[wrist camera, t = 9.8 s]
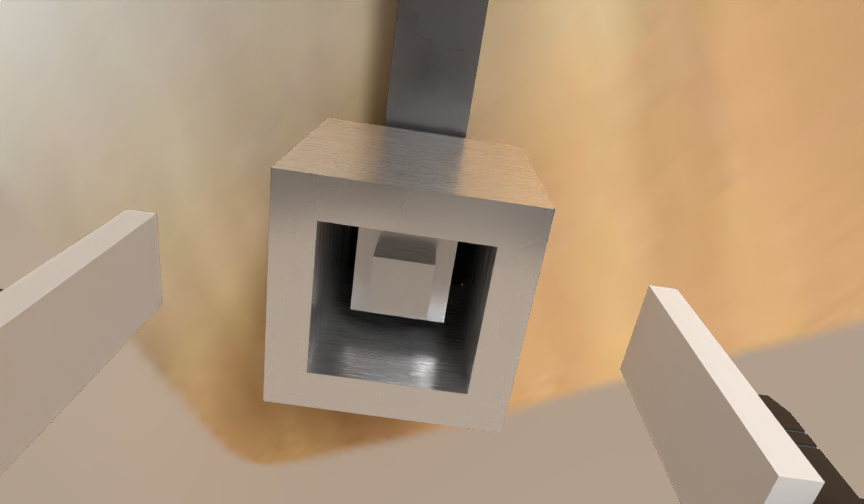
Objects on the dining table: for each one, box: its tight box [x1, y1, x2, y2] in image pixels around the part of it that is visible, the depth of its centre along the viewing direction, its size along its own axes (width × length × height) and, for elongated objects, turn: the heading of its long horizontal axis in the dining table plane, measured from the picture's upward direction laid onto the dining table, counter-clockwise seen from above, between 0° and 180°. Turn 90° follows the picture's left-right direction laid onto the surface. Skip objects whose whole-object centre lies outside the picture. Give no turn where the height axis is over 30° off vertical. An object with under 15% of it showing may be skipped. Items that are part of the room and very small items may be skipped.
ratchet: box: [348, 0, 489, 323], centre depth 18 cm, size 20×6×8 cm, turn 172°
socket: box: [263, 118, 555, 433], centre depth 18 cm, size 7×7×7 cm
